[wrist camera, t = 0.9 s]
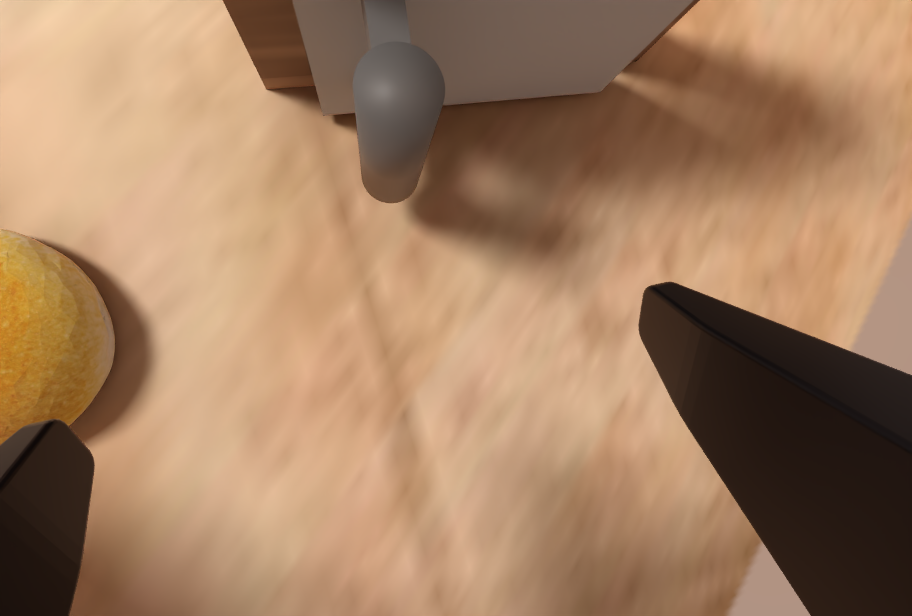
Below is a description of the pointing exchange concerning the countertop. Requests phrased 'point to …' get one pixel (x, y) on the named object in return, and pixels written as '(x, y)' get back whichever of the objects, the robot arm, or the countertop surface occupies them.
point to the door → (459, 63)
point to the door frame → (296, 40)
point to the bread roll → (48, 335)
